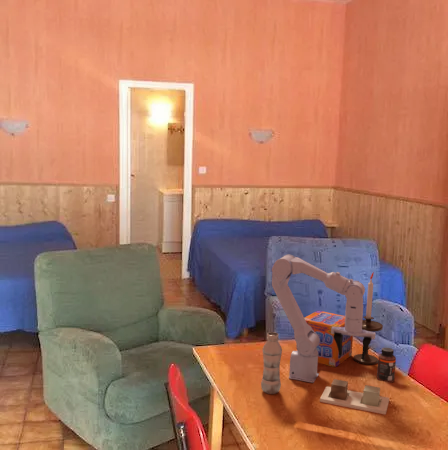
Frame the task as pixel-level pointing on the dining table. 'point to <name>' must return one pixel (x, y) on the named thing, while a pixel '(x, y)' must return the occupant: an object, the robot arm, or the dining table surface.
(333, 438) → the dining table surface
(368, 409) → the base board
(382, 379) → the supplement bottle
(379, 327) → the candlestick
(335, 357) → the game box
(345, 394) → the walnut block
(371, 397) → the sage block
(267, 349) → the plastic bottle
